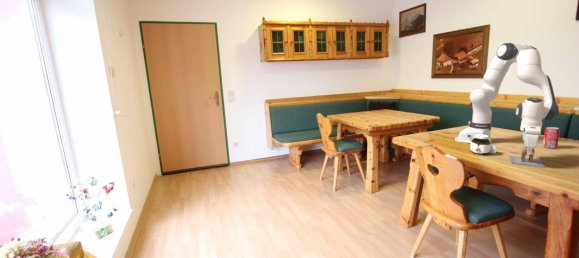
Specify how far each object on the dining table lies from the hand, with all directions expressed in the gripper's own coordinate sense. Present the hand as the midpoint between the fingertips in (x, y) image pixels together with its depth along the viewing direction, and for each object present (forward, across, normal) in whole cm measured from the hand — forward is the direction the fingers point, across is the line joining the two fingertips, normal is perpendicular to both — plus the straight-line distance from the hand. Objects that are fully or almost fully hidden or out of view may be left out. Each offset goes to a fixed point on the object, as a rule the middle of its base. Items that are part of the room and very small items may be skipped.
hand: (527, 151), depth 158 cm
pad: (+6, 0, 0) cm, 6 cm away
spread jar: (+6, -9, -20) cm, 23 cm away
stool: (+6, 0, 0) cm, 6 cm away
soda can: (+6, -40, +16) cm, 44 cm away
